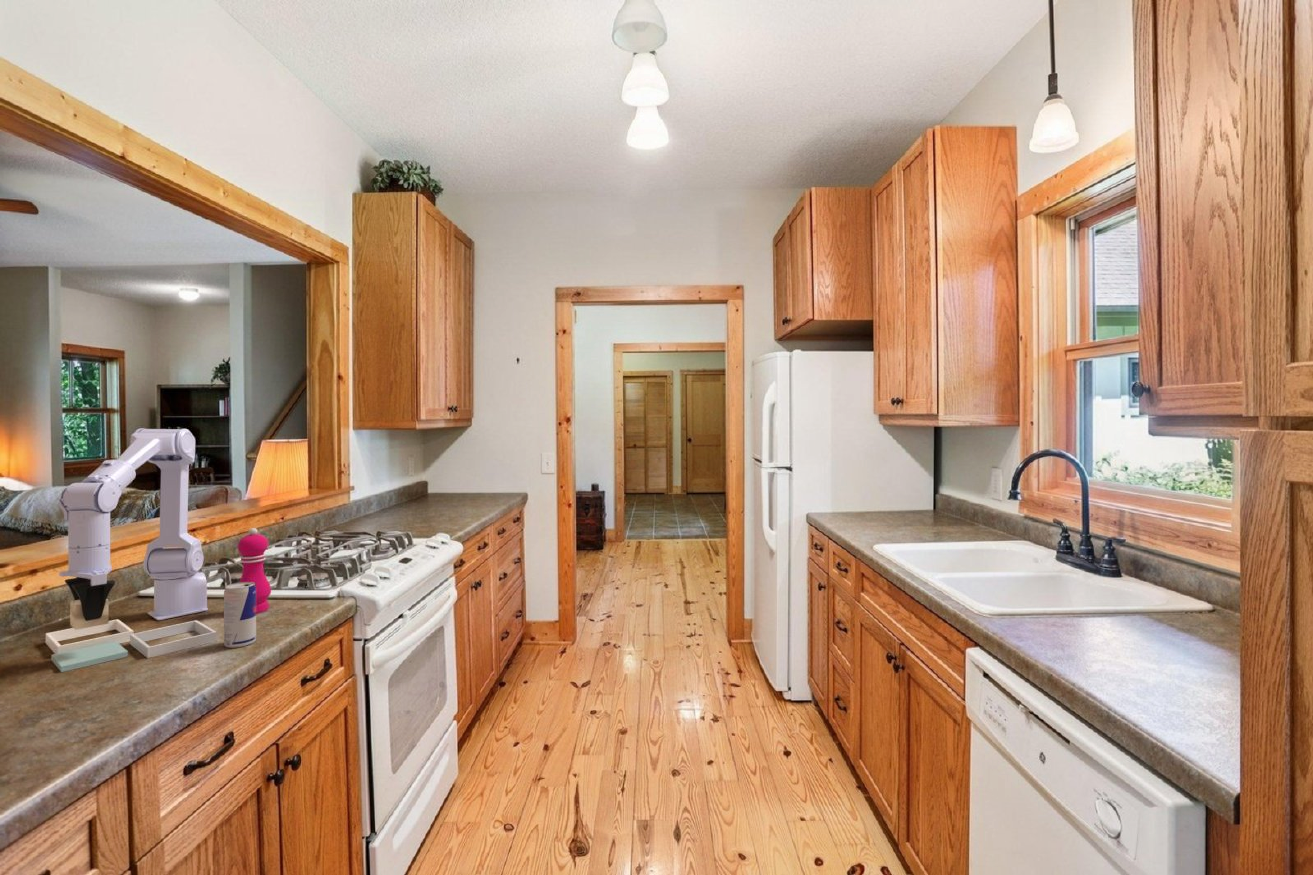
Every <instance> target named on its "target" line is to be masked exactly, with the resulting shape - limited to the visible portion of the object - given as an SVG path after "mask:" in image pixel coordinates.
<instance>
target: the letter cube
mask: <svg viewBox="0 0 1313 875" xmlns="http://www.w3.org/2000/svg"><path fill="white" fill-rule="evenodd" d="M108 621H109V599H108V598H107V599H106V602H105V606H104V610H103V613H102V616H101V618H99V619H94V620H89V621H86V620H85V618H84V616H83V612H82V607H81V602H80V600H70V601H69V622H70V623H69V625H70V627H71V628H74V629H75V630H78V629H83V628H88V627H93V626H98V625H103V624H108Z"/></svg>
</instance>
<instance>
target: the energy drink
mask: <svg viewBox="0 0 1313 875" xmlns="http://www.w3.org/2000/svg"><path fill="white" fill-rule="evenodd" d="M256 640H257V613H256V586H255V583H253V582H241V583H239V582H235V583H230V584H228V585H225V588H224V591H223V645H224V646H225V648H230V649H235V648H242V647H246V646H250V645H252V644H254V643H255V641H256Z"/></svg>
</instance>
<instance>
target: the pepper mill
mask: <svg viewBox="0 0 1313 875" xmlns="http://www.w3.org/2000/svg"><path fill="white" fill-rule="evenodd" d="M268 541H269V540H268V539H267V538H266V536H265V535H262V534H259V532H258V529H257V528H255V527H252V528H250V529H249V530H248V535H245V536H243V537H242V538H240V540H239V541H238V544H237V551H239V553H240V554H241V555H240V561H239V562H240V563H242V575H241V577H240V580H239V581H238V583H241V582H253V583H255V586H256V614H259V613H260V614H261V613H263V612H266V611H268V610H269V606H270V605H269V604H270V602H269V600H267V599H268V598H270V595H271V594H272V590H271V589H272V588H271V584H270V582H269V580H268V578H267V576H266V575H265V570H264V561H265V560H266V559H267V558H266V553H265V552H266V551H267V549H268V547H269V542H268Z"/></svg>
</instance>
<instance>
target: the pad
mask: <svg viewBox="0 0 1313 875" xmlns="http://www.w3.org/2000/svg"><path fill="white" fill-rule="evenodd" d="M127 657H129V650H127V649H126V648H124V647H123V646H122V645H121V643H120V644H118V643H117V642H116V641H113V642H109V643H104V644H99V645H95V646H90V647H86V648H81V649H76V650H72V651H67V652H62V653H58V654H55V653H53V654H51V662H53V664H54V665H55V667H56V668H57V669H58V670H59V671H60V672H61V673H65V672H67V671H72V670H77V669H81V668H82V669H83V668H85V667H90V666H94V665H98V664H102V663H103V664H104V663H107V662H111V661H115V660H119V659H123V658H127Z"/></svg>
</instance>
